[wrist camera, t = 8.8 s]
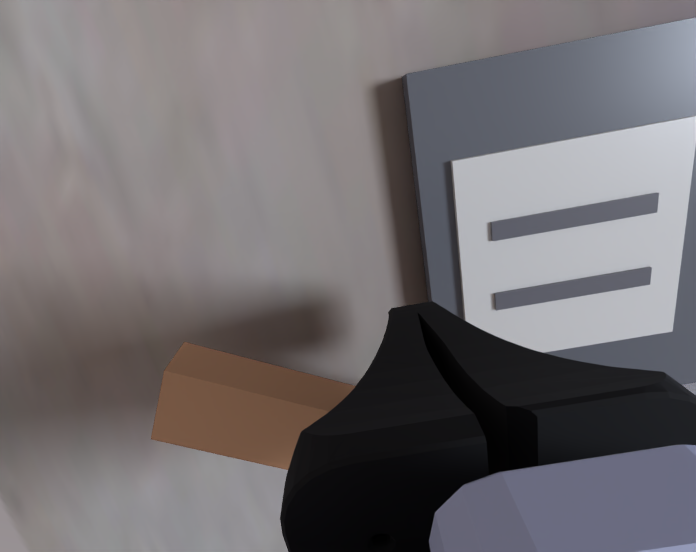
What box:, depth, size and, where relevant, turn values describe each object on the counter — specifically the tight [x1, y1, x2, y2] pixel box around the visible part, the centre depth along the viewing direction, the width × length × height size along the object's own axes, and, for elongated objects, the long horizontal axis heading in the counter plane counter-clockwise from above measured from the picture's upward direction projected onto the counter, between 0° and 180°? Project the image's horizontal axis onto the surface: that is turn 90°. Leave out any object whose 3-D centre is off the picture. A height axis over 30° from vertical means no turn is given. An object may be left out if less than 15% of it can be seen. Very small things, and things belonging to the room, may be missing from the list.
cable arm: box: [151, 342, 355, 470], centre depth 13 cm, size 16×3×2 cm, turn 72°
